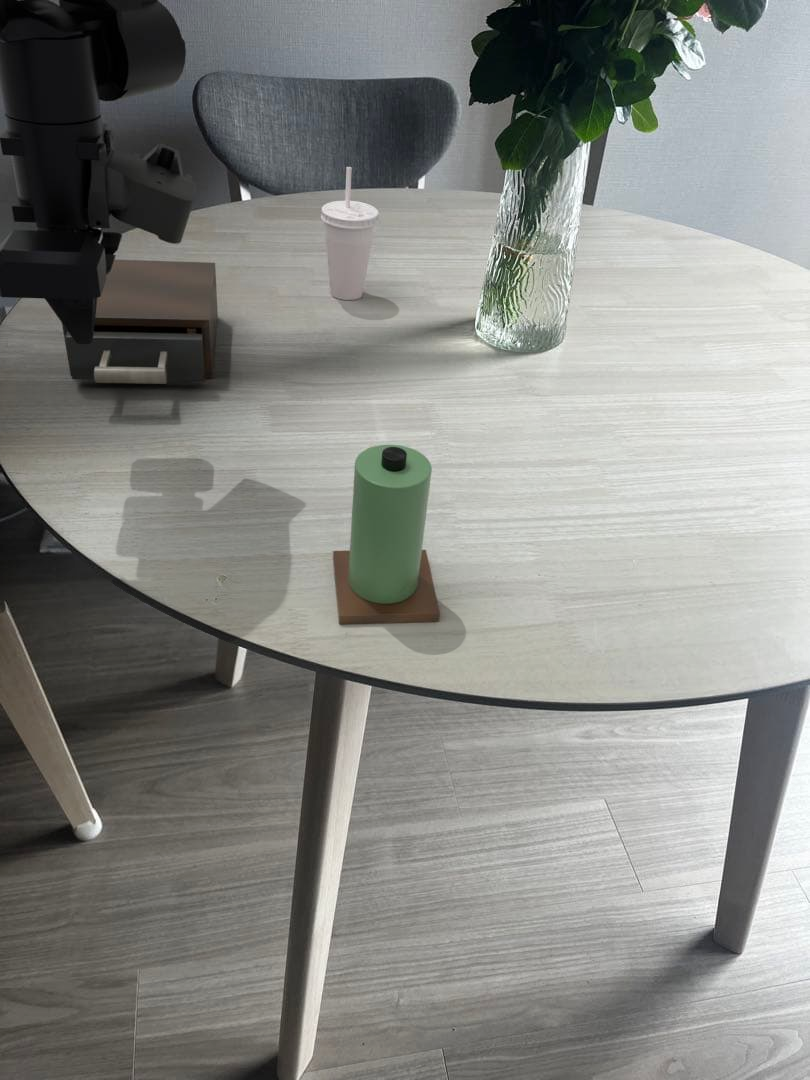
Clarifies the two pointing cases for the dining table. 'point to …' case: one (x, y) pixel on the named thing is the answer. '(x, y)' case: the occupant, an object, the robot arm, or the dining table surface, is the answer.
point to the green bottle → (388, 522)
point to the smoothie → (348, 243)
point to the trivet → (362, 611)
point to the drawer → (138, 355)
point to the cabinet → (161, 299)
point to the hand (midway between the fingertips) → (84, 342)
